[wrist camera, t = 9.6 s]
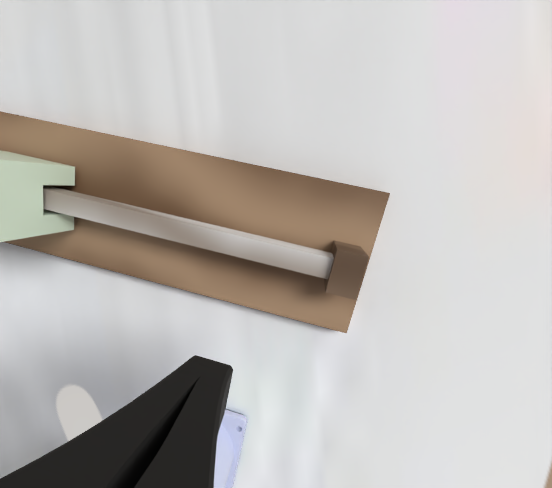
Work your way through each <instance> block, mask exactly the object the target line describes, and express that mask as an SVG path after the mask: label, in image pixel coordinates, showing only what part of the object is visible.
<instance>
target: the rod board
mask: <svg viewBox="0 0 552 488" xmlns="http://www.w3.org/2000/svg"><path fill="white" fill-rule="evenodd" d="M0 151H8V152H12V153H17V154H21V155H25V156H30V157H34V158H39V159H43V160H47V161H52V162H56V163H61V164H65V165H69V166H74V167H75V186H73V185H43V209H46V210H50V211H54V212H58V213H62V214H66V215H70V216H74V230H70V231H64V232H58V233H52V234H46V235H40V236H34V237H28V238H22V239H16V240H10V241H4V242H6V243H10V244H14V245H17V246H21V247H25V248H29V249H32V250H36V251H40V252H44V253H47V254H51V255H55V256H59V257H62V258H66V259H70V260H74V261H77V262H81V263H85V264H89V265H92V266H96V267H100V268H104V269H107V270H111V271H115V272H119V273H122V274H126V275H130V276H134V277H137V278H141V279H145V280H149V281H152V282H156V283H160V284H164V285H167V286H171V287H175V288H179V289H182V290H186V291H190V292H194V293H197V294H201V295H205V296H209V297H212V298H216V299H220V300H224V301H227V302H231V303H235V304H239V305H242V306H246V307H250V308H254V309H257V310H261V311H265V312H269V313H272V314H276V315H280V316H284V317H287V318H291V319H295V320H299V321H302V322H306V323H310V324H314V325H317V326H321V327H325V328H329V329H332V330H336V331H340V332H344V333H347V330H348V327H349V323H350V320H351V317H352V314H353V310H354V307H355V304H356V301H357V298H358V294H359V291H360V288H361V285H362V282H363V278H364V275H365V272H366V269H367V265H368V262H369V259H370V256H371V253H372V249H373V246H374V243H375V240H376V236H377V233H378V230H379V227H380V224H381V220H382V217H383V214H384V211H385V208H386V204H387V201H388V198H389V195H390V193H386V192H381V191H377V190H372V189H367V188H362V187H358V186H353V185H348V184H343V183H338V182H334V181H329V180H324V179H319V178H315V177H310V176H305V175H300V174H296V173H291V172H286V171H281V170H276V169H272V168H267V167H262V166H257V165H253V164H248V163H243V162H238V161H234V160H229V159H224V158H219V157H214V156H210V155H205V154H200V153H195V152H191V151H186V150H181V149H176V148H172V147H167V146H162V145H157V144H153V143H148V142H143V141H138V140H133V139H129V138H124V137H119V136H114V135H110V134H105V133H100V132H95V131H91V130H86V129H81V128H76V127H71V126H67V125H62V124H57V123H52V122H48V121H43V120H38V119H33V118H29V117H24V116H19V115H14V114H9V113H5V112H0Z"/></svg>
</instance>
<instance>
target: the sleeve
mask: <svg viewBox="0 0 552 488" xmlns="http://www.w3.org/2000/svg"><path fill="white" fill-rule="evenodd" d="M43 185H73V186H75V167H74V166H69V165H65V164H61V163H56V162H52V161H47V160H43V159H39V158H34V157H30V156H25V155H21V154H17V153H12V152H8V151H0V242H4V241H10V240H16V239H22V238H28V237H34V236H40V235H46V234H52V233H58V232H64V231H70V230H74V216H70V215H66V214H62V213H58V212H54V211H50V210H46V209H43Z"/></svg>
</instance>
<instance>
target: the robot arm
mask: <svg viewBox="0 0 552 488" xmlns="http://www.w3.org/2000/svg"><path fill="white" fill-rule="evenodd" d="M232 372H233V369H232V367H231V366H230V365H227V364H223V363H220V362H217V361H213V360H210V359H206V358H203V357H199V356H196V355H195V356H193V357H192V358H190V359H189V360H188V361H187V362H185V363H184V364H183V365H181V366H180V367H179V368H177V369H176V370H175V371H174V372H172V373H171V374H170V375H168V376H167V377H166V378H164V379H163V380H161V381H160V382H159V383H157V384H156V385H155V386H153V387H152V388H150V389H149V390H148V391H146V392H145V393H143V394H142V395H140V396H139V397H138V398H136V399H135V400H133V401H132V402H130V403H129V404H128V405H126V406H124V407H123V408H121V409H120V410H118V411H117V412H115V413H114V414H112V415H111V416H109V417H108V418H106V419H104V420H103V421H101V422H100V423H98V424H97V425H95V426H93V427H92V428H90V429H89V430H87V431H85V432H84V433H82V434H80V435H79V436H77V437H76V438H74V439H72V440H70V441H69V442H67V443H65V444H63V445H62V446H60V447H58V448H56V449H55V450H53V451H51V452H49V453H48V454H46V455H44V456H42V457H40V458H39V459H37V460H35V461H33V462H31V463H29V464H27V465H26V466H24V467H22V468H20V469H18V470H16V471H14V472H12V473H10V474H9V475H7V476H5V477H3V478H1V479H0V488H232V487H233V483H234V478H235V474H236V469H237V465H238V461H239V456H240V452H241V447H242V443H243V438H244V434H245V430H246V425H247V418H246V417H245V416H244V415H241V414H238V413H235V412H232V411H228V410H225V408H226V403H227V398H228V393H229V388H230V383H231V378H232ZM239 426H240V427H239Z"/></svg>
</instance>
